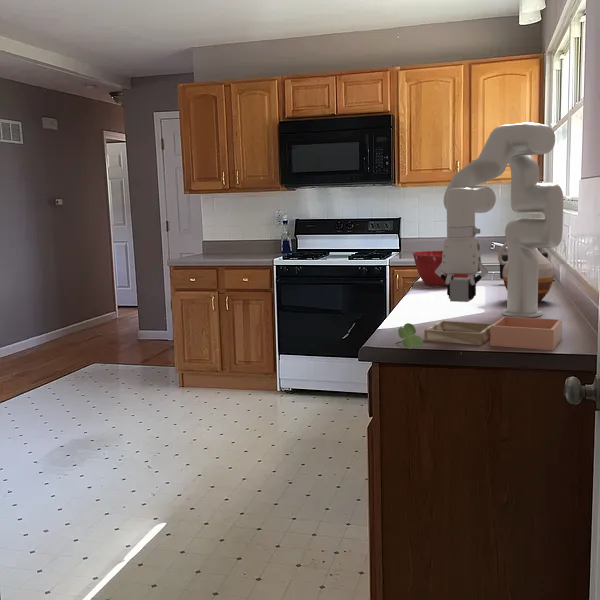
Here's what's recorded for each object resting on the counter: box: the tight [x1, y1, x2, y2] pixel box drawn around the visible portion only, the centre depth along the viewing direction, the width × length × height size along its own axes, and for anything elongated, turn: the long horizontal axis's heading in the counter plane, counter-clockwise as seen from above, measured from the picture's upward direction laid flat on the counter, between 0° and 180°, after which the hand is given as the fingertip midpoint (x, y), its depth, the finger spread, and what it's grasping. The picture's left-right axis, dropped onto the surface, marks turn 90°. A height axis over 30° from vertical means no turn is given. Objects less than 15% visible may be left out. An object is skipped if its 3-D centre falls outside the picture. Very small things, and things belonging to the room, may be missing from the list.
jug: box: [497, 242, 555, 303], centre depth 239 cm, size 20×18×30 cm
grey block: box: [449, 278, 473, 303], centre depth 183 cm, size 5×5×6 cm
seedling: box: [395, 323, 424, 350], centre depth 175 cm, size 7×8×7 cm
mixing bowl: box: [411, 250, 469, 287], centre depth 291 cm, size 28×28×15 cm
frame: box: [424, 320, 494, 346], centre depth 184 cm, size 16×16×3 cm
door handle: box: [499, 251, 549, 280], centre depth 284 cm, size 3×20×16 cm, turn 76°
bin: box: [489, 315, 563, 351], centre depth 175 cm, size 16×16×5 cm
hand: (461, 297), depth 183 cm, fingers closed on grey block, 5 cm apart
